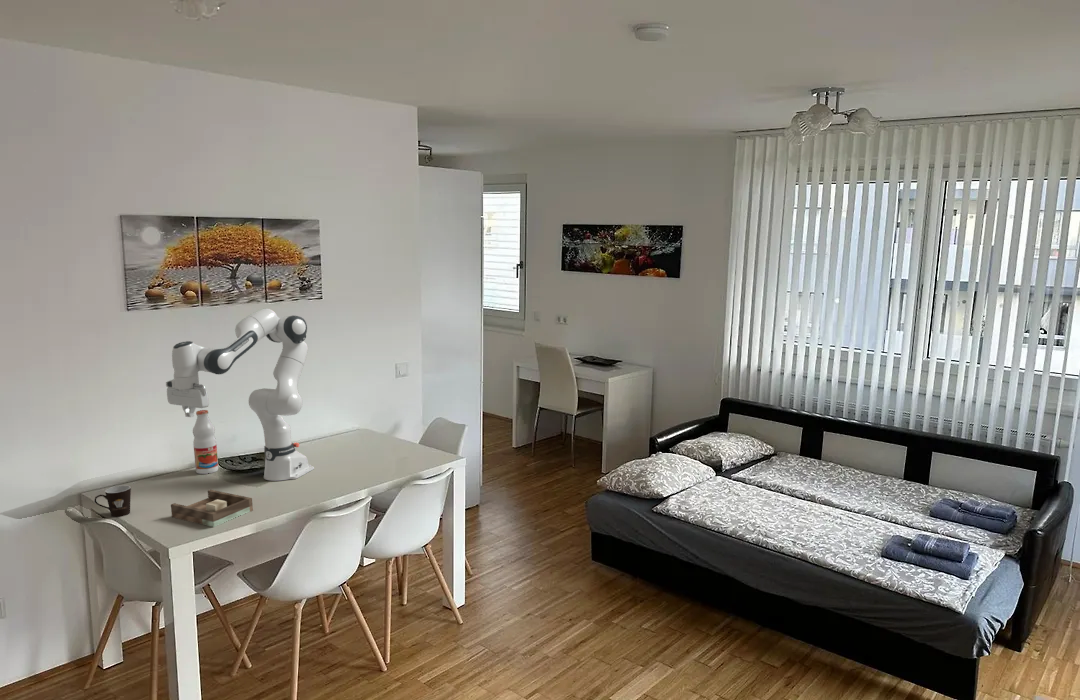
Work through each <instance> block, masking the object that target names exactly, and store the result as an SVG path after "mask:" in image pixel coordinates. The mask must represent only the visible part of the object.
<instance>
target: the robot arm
mask: <svg viewBox="0 0 1080 700" xmlns="http://www.w3.org/2000/svg"><path fill="white" fill-rule="evenodd" d="M234 331H235V335H236V337H237V339H235V340H234V341H232V342H231V343H229V345H227V346H226V347H223V348H213V347H212V348H211V347H206V346H202V345H199V344H196V343H194V341H191V340H190V341H189V340H186V341H182V342H181V341H180V342H178V343H176V344H175V345H173V347H172V352H171V357H172V358H171V359H172V360H171V361H172V368H173V372H174V373H173V379H170V380H167V381H166V382H165V386H166V387H167V388H166V397H167V402H168V403H169V404H170V405H174V406H175V405H176V406H181V408H182V410H183V412H184V415H185V417H187V418H194V417H195V413H194V412H196V409H205V408H208V407H209V406H210V400H209V395H208V392H207V388H206V387H205V386H204V385H203V384H201V383H200V380H199V379H200V378H199V372H201V371H202V372H206V373H211V374H215V375H224V374H226V373H227V372H228V371H229V370H230V369H231V367H232V366H233V365H234V363H236V361H237V360H238V359H240V358H241V357H242V356H243V355H245V354H246V353H247V352H248V351H249V350H250V349H251V348H253V347H255V345H256V344H257V342H259V341H261V339H264V337H266V338H267V339H268V340H269V341H271V342H273V343H278V344H279V343H281V344H282V349H281V352H280V355H279V357H278V359H277V362H276V365H275V367H274V369H273V372H272V375H273V378H274V379H275V380H276V383H277V385H276V387H275V389H274V388H258V389H255V390H253V391H252V392H251V393H250V394H249V396H248V406H249V408H250V409H251V410H252V411H253V412H254V413H255V414H256V416H257V418H258V419H259V421H260V424H261V426H262V430H263V436H264V437H263V438H264V446H263V447H264V448H263V449H264V452H263V453H264V456H265V459H264V460H265V462H264V473H263V474H264V475H263V480H267V481H272V482H274V481H276V482H277V481H285V480H296V479H298V478H300V477H302V476H304V475H306V474H307V473H310V472H311V471H313V470H315V467H314V466H313V465H312V464H310V463H309V461H308V457H307V456H306V455H304V453H301V452H299V451H298V450H297V449H296V448H299V447H300V443H299V442H294V443H293V442H292V429H291V426H290V424H289V423H288V422H287V421H286V420H285V419H284V417H283V416H285V417H287V416H295V415H298V414H299V413H300V412H301V410H302V408H303V398H302V396H301V395H300V393H299V390H298V389H299V388H298V386H299V380H300V376H301V373H302V371H303V368H304V366H305V363H306V360H307V356H308V351H309V350H308V349H309V348H308V347H309V346H308V344H307V342H306V341H305V340H306V338H307V332H308V325H307V321H306V320H305V319H304V318H303V317H302V316H298V315H290V316H281V317H279V316H278V314H277V313H276V312H275V311H274V310H272V309H271V308H263V309H258V310H257V311H255V312H253V313H250V314H249V315H247V316H246V317H244V318H243V319H241V320H240V321H239V322H238V323H237V324H236V325H235V328H234Z"/></svg>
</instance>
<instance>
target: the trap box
mask: <svg viewBox="0 0 1080 700" xmlns="http://www.w3.org/2000/svg"><path fill="white" fill-rule="evenodd" d="M217 499H218V500H223V501H226V502H227V507H225V508H222V509H220V510H217V511H215V512H211V511H207V509H206V503H209V502H212V501H214V500H217ZM253 505H254V504H253V498H252V497H249V496H244V495H239V494H233V493H228V492H224V491H220V490H214V489H208V490H207V498H205V499H202V500H200V501H197V502H194V503H191V504H189V505H184V504H179V503H176V502H174V503H171V504H170V508H171V509H170V510H171V517H172V518H175V519H177V520H183V521H186V522H190V523H196V524H200V525H204V526H208V527H211V528H212V527H213V528H215V527H217V525H218V526H220V525H222V524H225V523H227V522H229V521H231V519H232V520H234V519H236V518H239V517H241V516H243V515H246V514H248V513H251V512H252V511H254V507H253ZM245 513H246V514H245ZM240 515H241V516H240ZM238 516H239V517H238ZM235 517H236V518H235ZM233 518H234V519H233ZM228 520H229V521H228ZM226 521H227V522H226ZM224 522H225V523H224Z"/></svg>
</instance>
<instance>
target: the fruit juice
mask: <svg viewBox="0 0 1080 700" xmlns="http://www.w3.org/2000/svg"><path fill="white" fill-rule="evenodd" d="M195 414H196V419H195V420H196V421H195V424H194V426H193V428H192V434H193V437H194V438H193V441H192V442H193V444H192V445H193V454H194V464H195V465H194V466H195V472H196V473H197V474H199V475H208V473H209V474H213V473H216V472H217V471H218V470H219V461H218V460H219V458H218V447H217V445H218V444H217V439H216V436H215V432H216V429H215V425H214V424H213V423H212V422H211V419H210V418H209V410H207V409H201V410H197V411H195Z"/></svg>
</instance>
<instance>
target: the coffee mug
mask: <svg viewBox="0 0 1080 700" xmlns="http://www.w3.org/2000/svg"><path fill="white" fill-rule="evenodd" d="M104 493H105V494H98V495H96V496H95V497H94V502H95V504H96V505H98V506H99V507H101V508H104V509H108V510H109V512H110V515H111V517H113V518H121V517H124V516H127V515H129V514H131V499H132V498H131V494H132V487H131V486H130V485H127V484H123V485H114V486H111V487H109V488H106V489H105V490H104ZM99 497H103V498H105V500H107V505H108V506H105V505H103V504H100V503H98V501H97V499H98V498H99Z"/></svg>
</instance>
